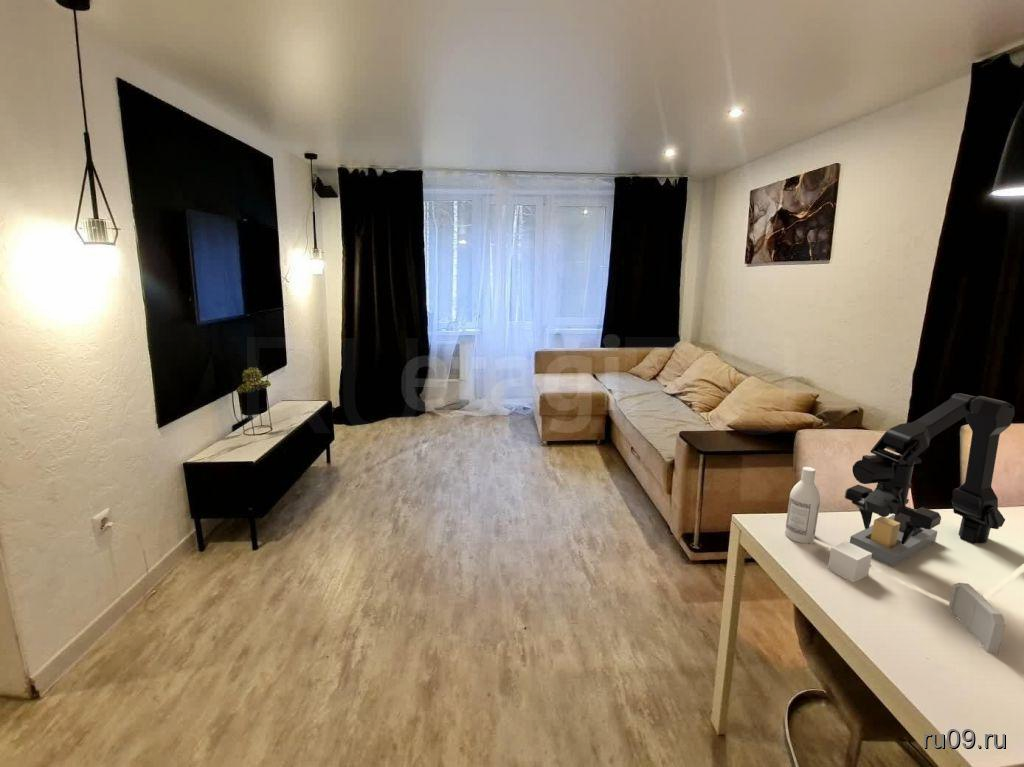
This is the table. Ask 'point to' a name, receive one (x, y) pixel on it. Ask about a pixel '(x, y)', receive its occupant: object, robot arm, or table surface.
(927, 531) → the grey piece
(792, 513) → the bath foam
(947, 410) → the robot arm
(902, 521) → the dark gray plug
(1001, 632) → the light switch
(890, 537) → the amber plug
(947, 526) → the table surface
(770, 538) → the table surface
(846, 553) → the white cube
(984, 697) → the table surface
